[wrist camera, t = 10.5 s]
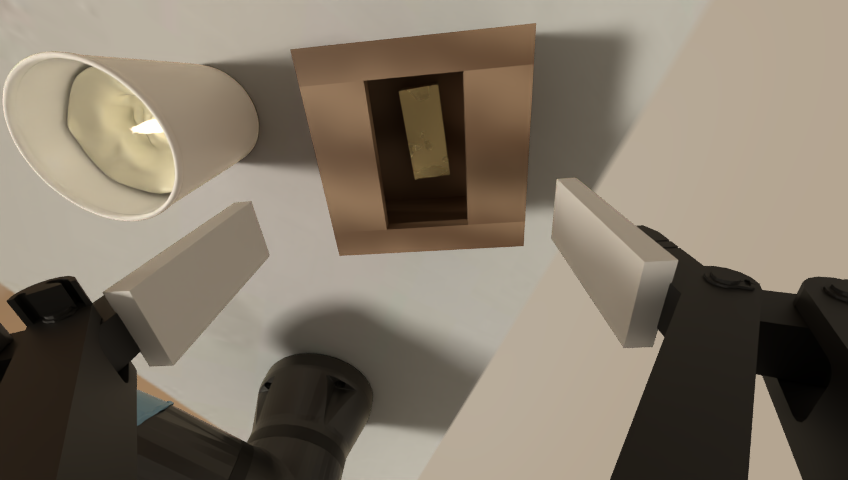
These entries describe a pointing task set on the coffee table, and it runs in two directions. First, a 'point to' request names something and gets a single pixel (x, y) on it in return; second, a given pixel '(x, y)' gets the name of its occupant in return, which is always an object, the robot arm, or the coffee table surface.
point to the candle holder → (126, 128)
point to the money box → (388, 146)
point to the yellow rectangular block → (425, 130)
